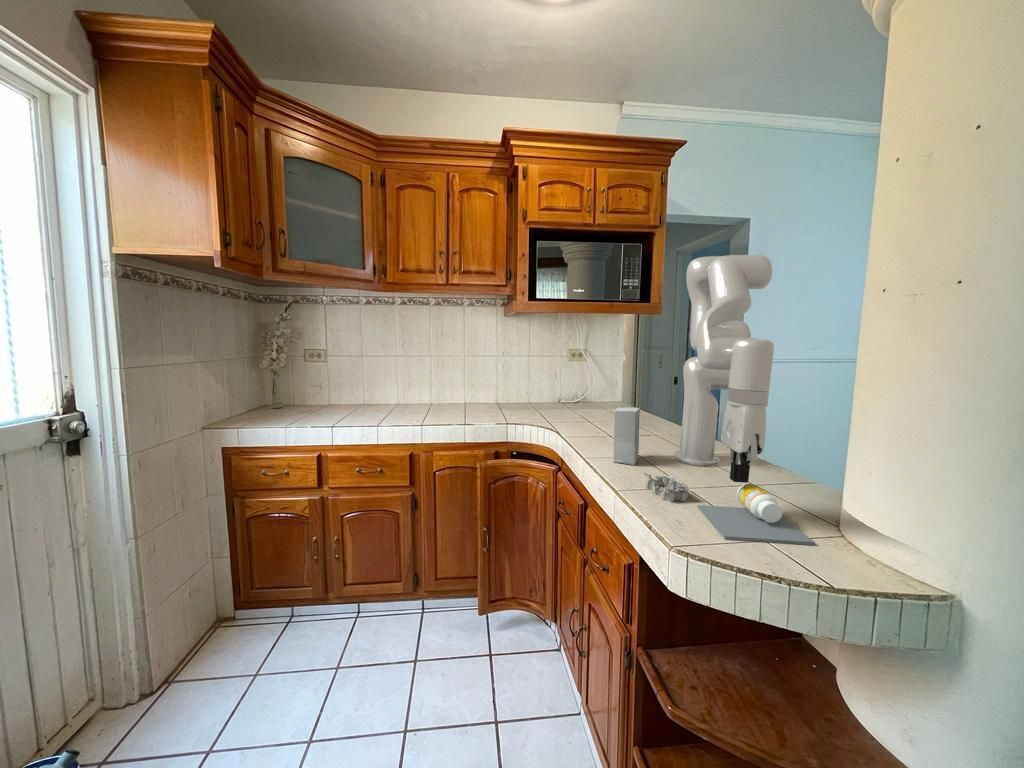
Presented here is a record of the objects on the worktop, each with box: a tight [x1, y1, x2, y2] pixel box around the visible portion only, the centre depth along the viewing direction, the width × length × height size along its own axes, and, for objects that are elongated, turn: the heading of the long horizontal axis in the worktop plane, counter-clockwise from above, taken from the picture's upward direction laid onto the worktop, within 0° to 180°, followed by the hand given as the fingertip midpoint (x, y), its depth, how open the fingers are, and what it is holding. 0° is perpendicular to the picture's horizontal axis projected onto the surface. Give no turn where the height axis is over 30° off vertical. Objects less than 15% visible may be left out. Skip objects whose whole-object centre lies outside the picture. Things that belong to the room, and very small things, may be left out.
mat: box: [697, 504, 816, 546], centre depth 83 cm, size 14×16×1 cm
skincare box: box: [612, 406, 641, 466], centre depth 122 cm, size 8×7×16 cm
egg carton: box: [643, 472, 692, 503], centre depth 99 cm, size 10×7×4 cm
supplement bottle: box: [736, 482, 783, 523], centre depth 86 cm, size 5×5×10 cm
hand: (738, 480), depth 89 cm, fingers closed
